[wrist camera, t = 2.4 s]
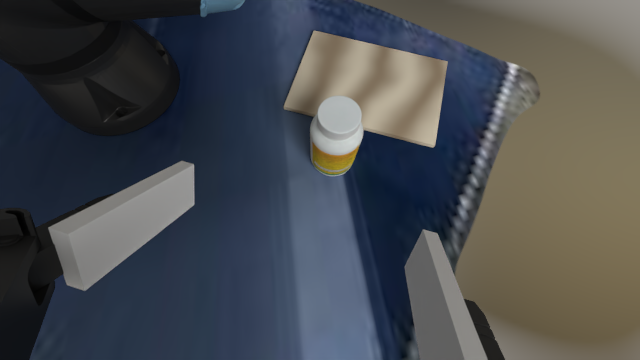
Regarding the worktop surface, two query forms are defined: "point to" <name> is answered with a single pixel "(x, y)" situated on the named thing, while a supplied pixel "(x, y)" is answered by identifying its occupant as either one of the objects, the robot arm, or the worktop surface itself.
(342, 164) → the supplement bottle
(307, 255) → the worktop surface
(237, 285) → the worktop surface
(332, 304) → the worktop surface
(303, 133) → the worktop surface
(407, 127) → the birch board
